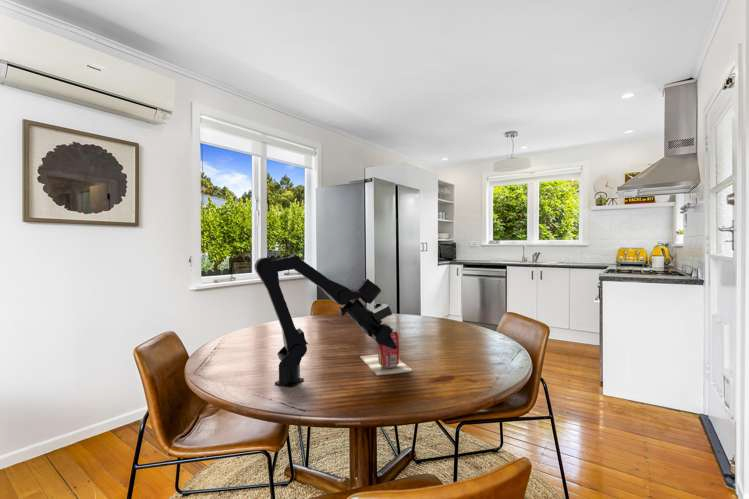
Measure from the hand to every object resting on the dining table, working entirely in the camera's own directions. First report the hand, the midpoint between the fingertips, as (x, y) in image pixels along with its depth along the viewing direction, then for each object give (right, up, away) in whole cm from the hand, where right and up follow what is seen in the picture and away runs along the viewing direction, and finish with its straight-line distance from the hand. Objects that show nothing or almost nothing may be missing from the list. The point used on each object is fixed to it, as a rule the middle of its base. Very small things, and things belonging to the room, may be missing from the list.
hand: (392, 345), depth 126 cm
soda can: (-1, -7, 0) cm, 7 cm away
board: (-3, -8, +4) cm, 9 cm away
